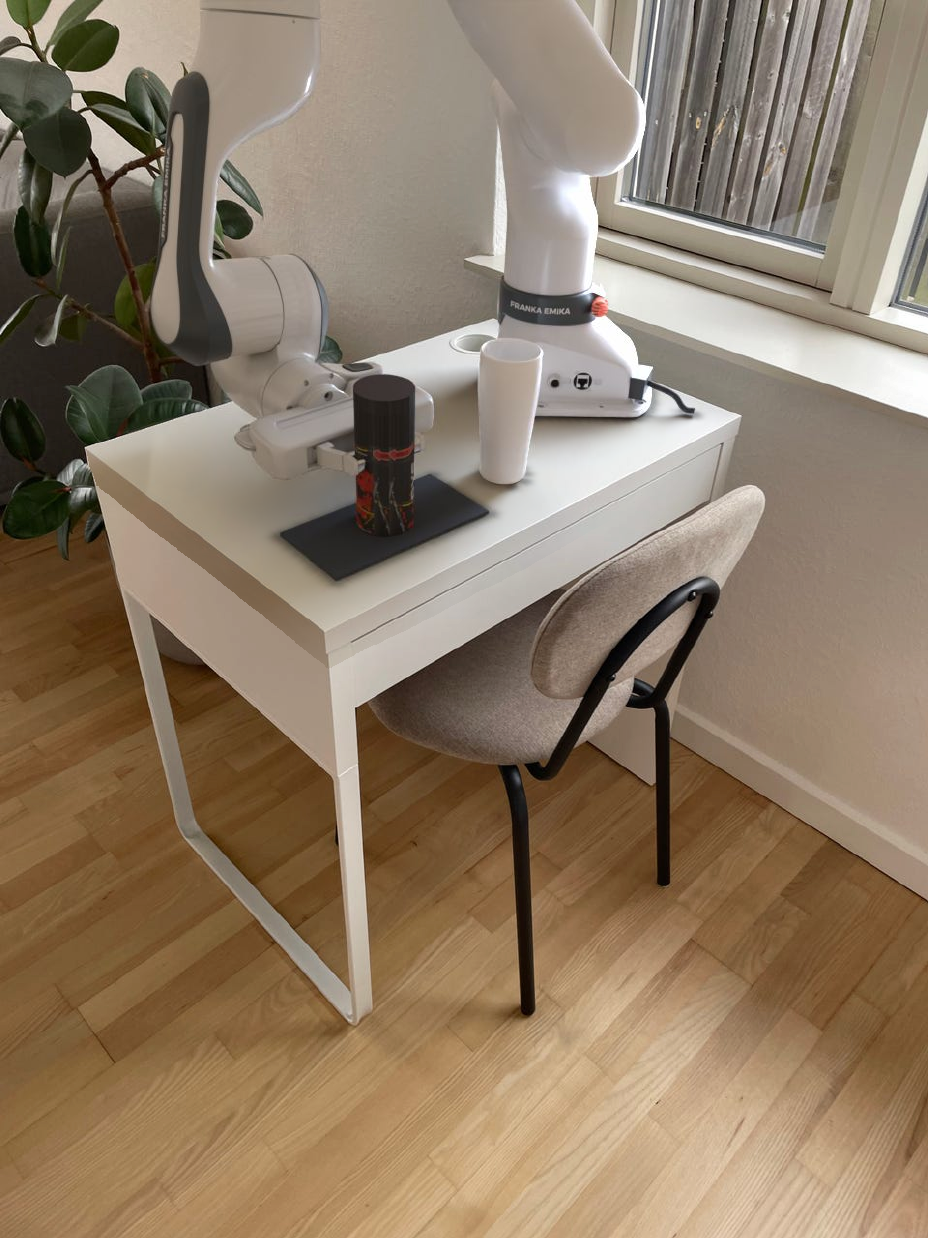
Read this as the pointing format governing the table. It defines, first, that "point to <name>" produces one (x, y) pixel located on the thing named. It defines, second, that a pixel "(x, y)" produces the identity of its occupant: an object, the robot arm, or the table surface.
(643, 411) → the robot arm
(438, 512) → the mat
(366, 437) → the deodorant
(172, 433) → the table surface
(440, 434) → the table surface
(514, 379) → the drinking glass
